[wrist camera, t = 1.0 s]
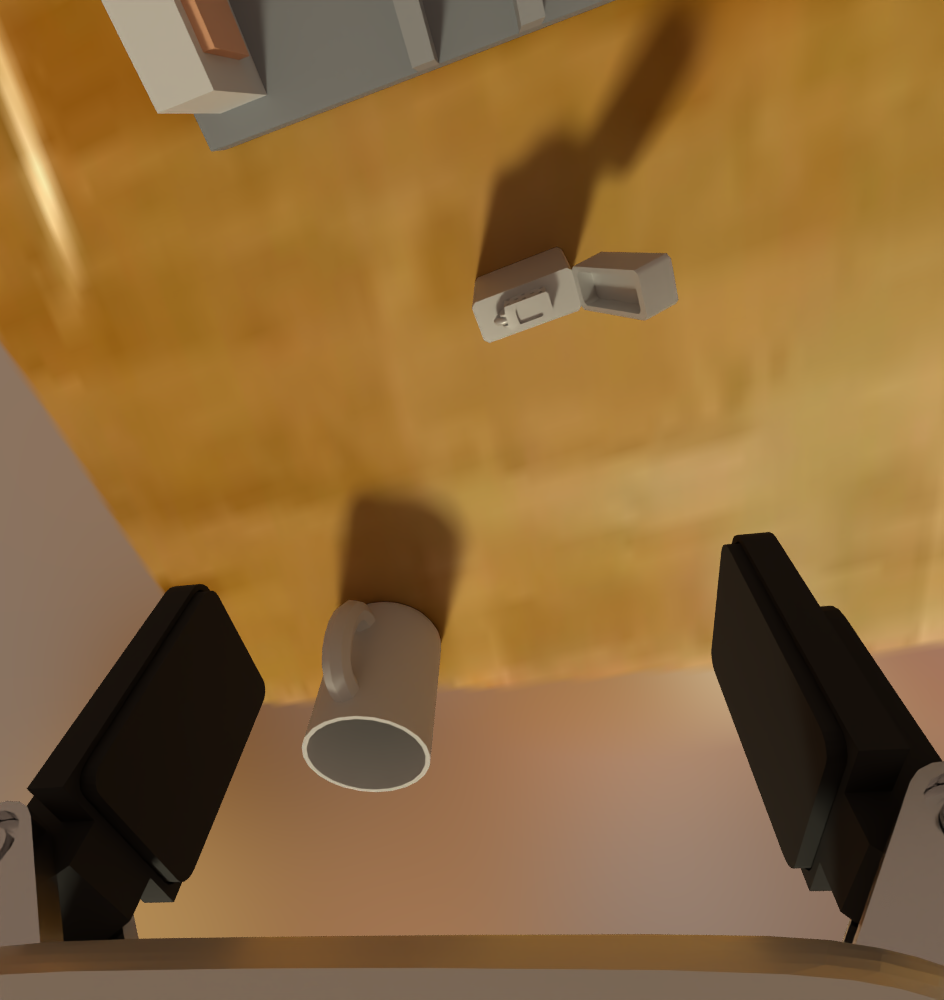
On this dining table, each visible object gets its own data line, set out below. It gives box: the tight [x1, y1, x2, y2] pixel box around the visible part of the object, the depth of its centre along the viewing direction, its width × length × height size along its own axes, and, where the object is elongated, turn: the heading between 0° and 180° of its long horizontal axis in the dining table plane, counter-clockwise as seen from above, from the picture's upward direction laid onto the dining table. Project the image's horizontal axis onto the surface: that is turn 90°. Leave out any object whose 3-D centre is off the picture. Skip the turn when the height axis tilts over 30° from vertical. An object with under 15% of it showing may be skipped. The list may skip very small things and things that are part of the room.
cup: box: [302, 600, 441, 792], centre depth 36 cm, size 7×10×9 cm
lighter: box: [472, 247, 678, 343], centre depth 23 cm, size 7×2×8 cm, turn 111°
